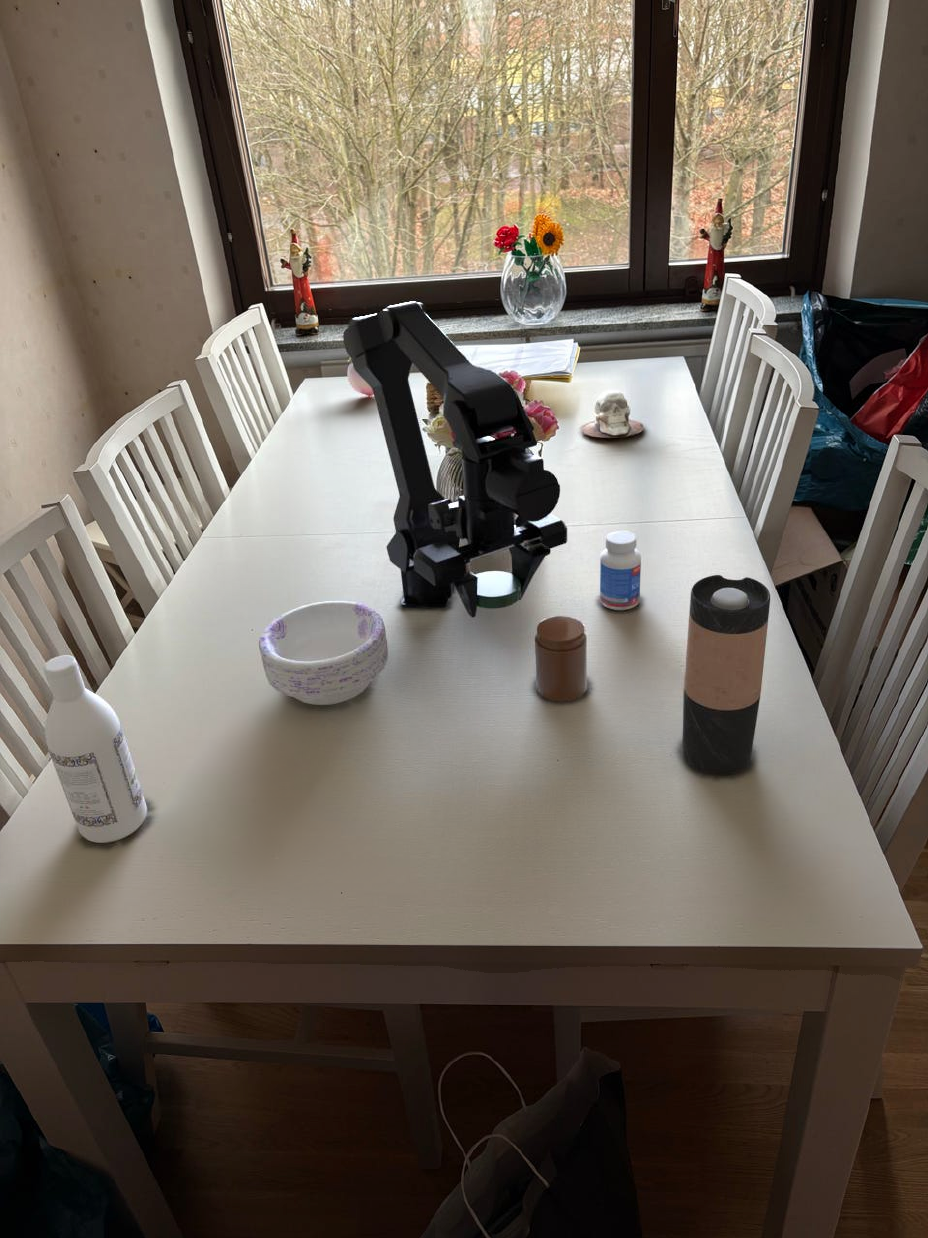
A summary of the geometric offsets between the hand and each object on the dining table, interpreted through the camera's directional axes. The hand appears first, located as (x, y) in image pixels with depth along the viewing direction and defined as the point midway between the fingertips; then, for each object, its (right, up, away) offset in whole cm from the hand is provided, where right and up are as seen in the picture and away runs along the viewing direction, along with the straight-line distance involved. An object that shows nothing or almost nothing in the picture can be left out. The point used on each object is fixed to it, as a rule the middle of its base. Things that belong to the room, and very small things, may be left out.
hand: (495, 607), depth 118 cm
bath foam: (-40, -23, -19) cm, 50 cm away
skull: (+25, +35, +69) cm, 81 cm away
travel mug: (+23, -16, -16) cm, 33 cm away
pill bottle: (+18, +1, +13) cm, 22 cm away
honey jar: (+8, -10, -4) cm, 13 cm away
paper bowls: (-20, -10, 0) cm, 23 cm away
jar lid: (0, +3, -1) cm, 3 cm away
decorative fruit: (-25, +49, +97) cm, 112 cm away
